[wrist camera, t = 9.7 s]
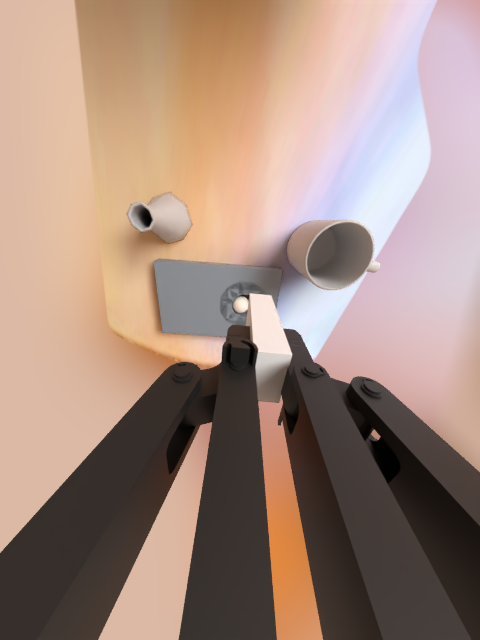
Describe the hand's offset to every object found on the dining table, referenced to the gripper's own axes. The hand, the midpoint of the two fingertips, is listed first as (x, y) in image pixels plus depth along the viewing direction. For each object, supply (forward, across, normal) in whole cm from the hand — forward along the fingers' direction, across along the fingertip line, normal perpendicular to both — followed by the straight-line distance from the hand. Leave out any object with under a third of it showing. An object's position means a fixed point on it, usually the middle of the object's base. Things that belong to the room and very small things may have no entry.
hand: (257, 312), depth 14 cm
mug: (+23, +12, +2) cm, 26 cm away
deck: (+23, -5, -9) cm, 25 cm away
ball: (+21, -1, -9) cm, 23 cm away
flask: (+23, -14, +5) cm, 28 cm away
